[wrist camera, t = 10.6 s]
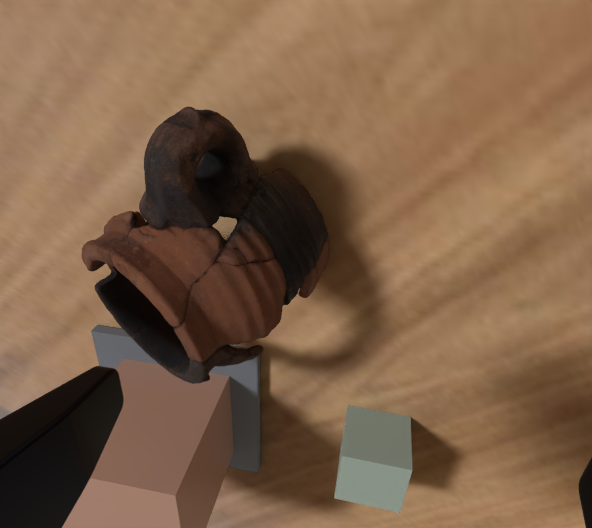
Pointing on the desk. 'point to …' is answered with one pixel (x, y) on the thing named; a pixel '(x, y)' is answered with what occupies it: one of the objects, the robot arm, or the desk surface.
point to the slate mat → (243, 376)
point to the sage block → (374, 459)
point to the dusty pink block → (160, 453)
